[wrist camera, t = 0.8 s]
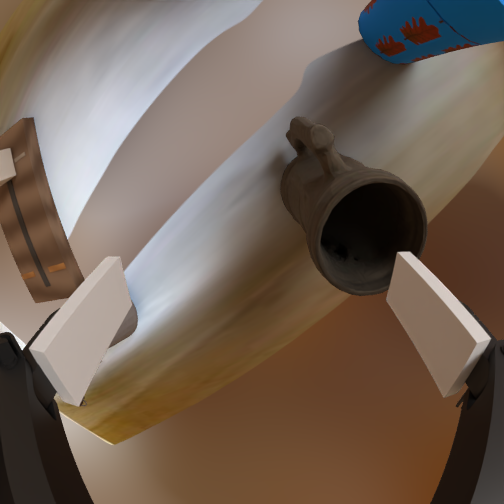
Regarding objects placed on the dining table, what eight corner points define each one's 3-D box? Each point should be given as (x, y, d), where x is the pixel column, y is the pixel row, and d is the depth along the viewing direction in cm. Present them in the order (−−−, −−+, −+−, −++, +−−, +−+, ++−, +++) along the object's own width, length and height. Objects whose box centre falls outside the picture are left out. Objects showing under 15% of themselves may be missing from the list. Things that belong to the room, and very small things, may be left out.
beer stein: (372, 198, 37) (452, 245, 18) (315, 243, 40) (353, 324, 21) (305, 111, 33) (347, 75, 15) (245, 160, 36) (223, 174, 18)
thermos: (429, 62, 28) (555, 44, 5) (375, 70, 29) (507, 29, 7) (402, 3, 24) (503, -52, 1) (344, 6, 25) (432, -83, 2)
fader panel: (-8, 150, 32) (-19, 153, 29) (33, 117, 31) (21, 118, 28) (43, 295, 45) (35, 303, 42) (88, 286, 43) (79, 296, 41)
